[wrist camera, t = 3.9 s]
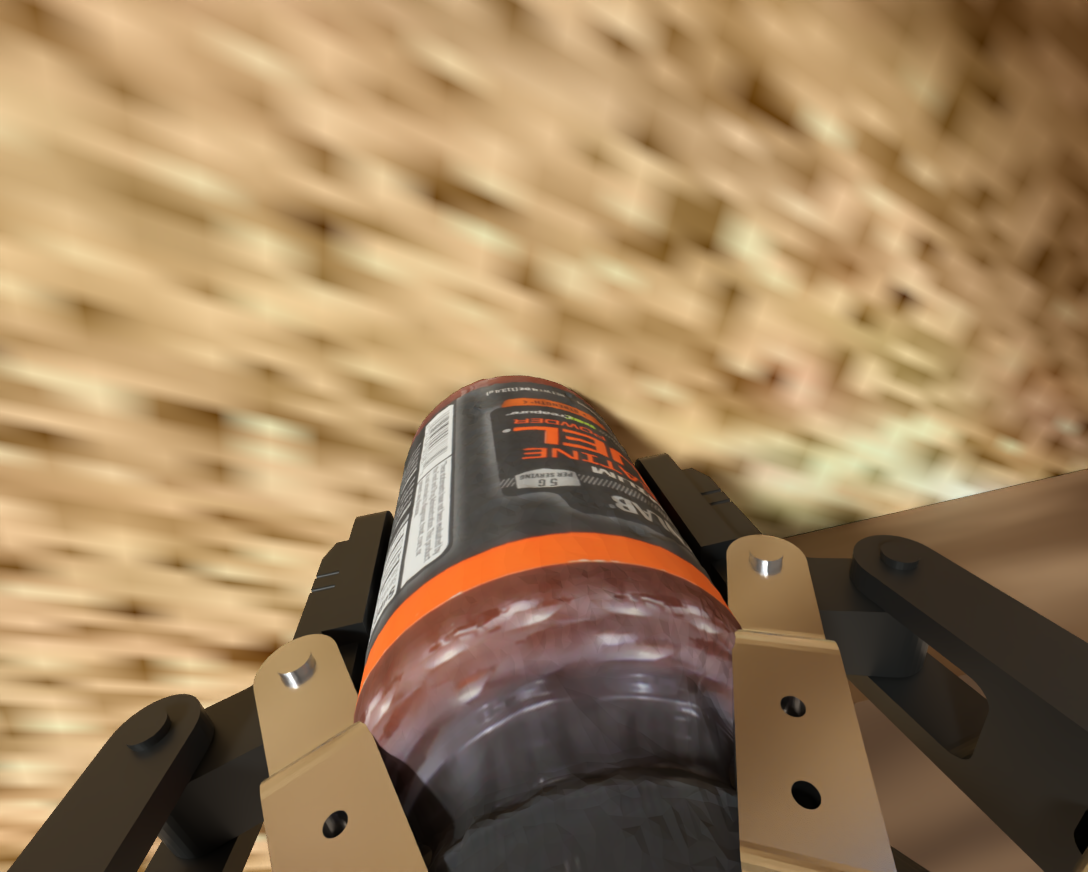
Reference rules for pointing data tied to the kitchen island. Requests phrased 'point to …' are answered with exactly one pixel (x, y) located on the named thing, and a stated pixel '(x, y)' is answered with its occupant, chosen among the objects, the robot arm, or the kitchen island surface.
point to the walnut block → (896, 762)
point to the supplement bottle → (548, 650)
